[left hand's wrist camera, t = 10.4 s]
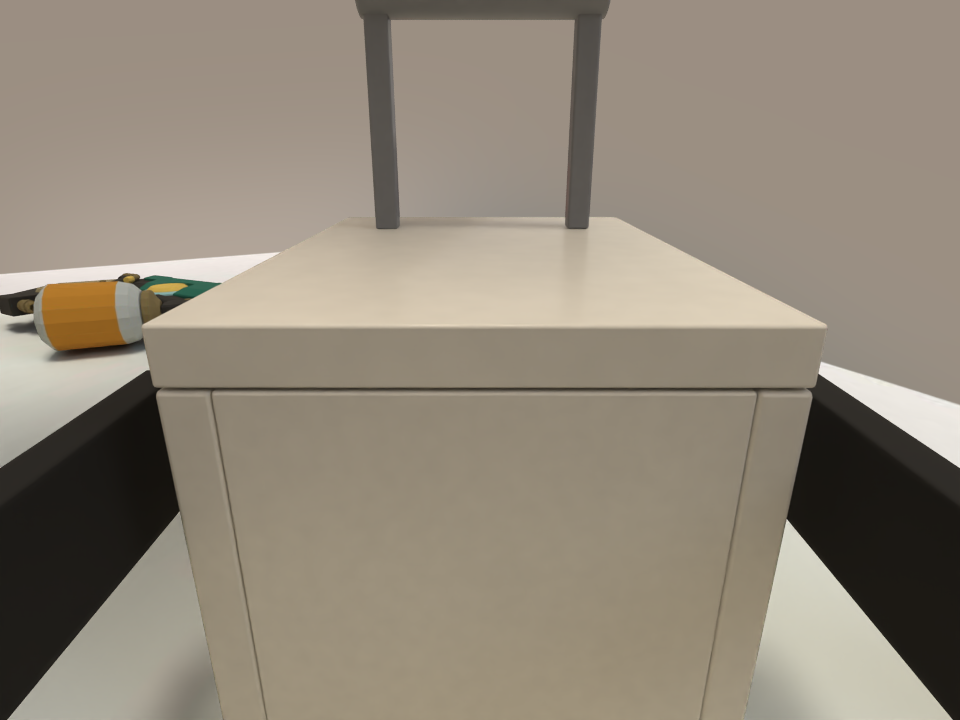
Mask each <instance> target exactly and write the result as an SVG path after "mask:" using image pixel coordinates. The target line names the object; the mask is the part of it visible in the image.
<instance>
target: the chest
mask: <svg viewBox="0 0 960 720" xmlns="http://www.w3.org/2000/svg"><path fill="white" fill-rule="evenodd" d="M156 399H157V404H158V409H159V413H160V418H161V423H162V428H163V433H164V437H165V442H166V447H167V452H168V457H169V461H170V466H171V471H172V476H173V481H174V486H175V490H176V495H177V500H178V505H179V510H180V514H181V519H182V524H183V529H184V534H185V538H186V543H187V548H188V553H189V558H190V562H191V567H192V572H193V577H194V582H195V587H196V591H197V596H198V601H199V606H200V611H201V615H202V620H203V625H204V630H205V635H206V639H207V644H208V649H209V654H210V659H211V664H212V668H213V673H214V678H215V683H216V688H217V692H218V697H219V702H220V707H221V712H222V716H223V720H744V716H745V711H746V707H747V702H748V697H749V692H750V688H751V683H752V678H753V674H754V669H755V664H756V660H757V655H758V650H759V646H760V641H761V636H762V632H763V627H764V622H765V617H766V613H767V608H768V603H769V599H770V594H771V589H772V585H773V580H774V575H775V571H776V566H777V561H778V557H779V552H780V547H781V542H782V538H783V533H784V528H785V524H786V519H787V514H788V510H789V505H790V500H791V496H792V491H793V486H794V482H795V477H796V472H797V467H798V463H799V458H800V453H801V449H802V444H803V439H804V435H805V430H806V425H807V421H808V416H809V411H810V406H811V402H812V393H811V392H810V391H809V390H808V389H806V388H162V389H160V390H159V391H158V392H157V395H156Z"/></svg>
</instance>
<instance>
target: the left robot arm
mask: <svg viewBox="0 0 960 720" xmlns="http://www.w3.org/2000/svg"><path fill="white" fill-rule="evenodd" d="M160 389H162V388H157V387H154V385H153V382H152V378H151V373H150V370H147V371H145V372H144V373H142V374H141V375H139V376H138V377H136V378H135V379H133V380H132V381H130V382H129V383H127V384H126V385H124V386H123V387H121V388H120V389H118V390H117V391H115V392H114V393H112V394H111V395H109V396H108V397H106V398H105V399H103V400H102V401H100V402H99V403H97V404H96V405H94V406H93V407H91V408H90V409H88V410H87V411H85V412H84V413H82V414H81V415H79V416H78V417H76V418H75V419H73V420H72V421H70V422H69V423H67V424H66V425H64V426H63V427H61V428H60V429H58V430H57V431H55V432H54V433H52V434H51V435H49V436H48V437H46V438H45V439H43V440H42V441H40V442H39V443H37V444H36V445H34V446H33V447H31V448H30V449H28V450H27V451H25V452H24V453H22V454H21V455H19V456H18V457H16V458H15V459H13V460H12V461H10V462H9V463H7V464H6V465H4V466H3V467H1V468H0V720H7V719H8V718H9V717H10V716H11V714H12V713H13V712H14V711H15V710H16V708H17V707H18V706H19V705H20V703H21V702H22V701H23V700H24V699H25V697H26V696H27V695H28V694H29V693H30V691H31V690H32V689H33V688H34V687H35V685H36V684H37V683H38V682H39V680H40V679H41V678H42V677H43V676H44V674H45V673H46V672H47V671H48V670H49V668H50V667H51V666H52V665H53V664H54V662H55V661H56V660H57V659H58V658H59V656H60V655H61V654H62V653H63V651H64V650H65V649H66V648H67V647H68V645H69V644H70V643H71V642H72V641H73V639H74V638H75V637H76V636H77V635H78V633H79V632H80V631H81V630H82V629H83V627H84V626H85V625H86V624H87V622H88V621H89V620H90V619H91V618H92V616H93V615H94V614H95V613H96V612H97V610H98V609H99V608H100V607H101V606H102V604H103V603H104V602H105V601H106V599H107V598H108V597H109V596H110V595H111V593H112V592H113V591H114V590H115V589H116V587H117V586H118V585H119V584H120V583H121V581H122V580H123V579H124V578H125V577H126V575H127V574H128V573H129V572H130V570H131V569H132V568H133V567H134V566H135V564H136V563H137V562H138V561H139V560H140V558H141V557H142V556H143V555H144V554H145V552H146V551H147V550H148V549H149V548H150V546H151V545H152V544H153V543H154V541H155V540H156V539H157V538H158V537H159V535H160V534H161V533H162V532H163V531H164V529H165V528H166V527H167V526H168V525H169V523H170V522H171V521H172V520H173V519H174V517H175V516H176V515H177V514H178V512H179V511H180V510H179V505H178V500H177V495H176V490H175V486H174V481H173V476H172V471H171V466H170V461H169V457H168V452H167V447H166V442H165V437H164V433H163V428H162V423H161V418H160V413H159V409H158V404H157V399H156V395H157V392H158V391H159V390H160ZM806 389H808V390H809V391H810V392H811V393H812V402H811V406H810V411H809V416H808V421H807V425H806V430H805V435H804V439H803V444H802V449H801V453H800V458H799V463H798V467H797V472H796V477H795V482H794V486H793V491H792V496H791V500H790V505H789V510H788V514H787V520H788V521H789V522H790V523H791V525H792V526H793V527H794V528H795V529H796V531H797V532H798V533H799V534H800V535H801V537H802V538H803V539H804V540H805V541H806V543H807V544H808V545H809V546H810V547H811V549H812V550H813V551H814V552H815V554H816V555H817V556H818V557H819V558H820V560H821V561H822V562H823V563H824V564H825V566H826V567H827V568H828V569H829V570H830V572H831V573H832V574H833V575H834V577H835V578H836V579H837V580H838V581H839V583H840V584H841V585H842V586H843V587H844V589H845V590H846V591H847V592H848V593H849V595H850V596H851V597H852V598H853V599H854V601H855V602H856V603H857V604H858V606H859V607H860V608H861V609H862V610H863V612H864V613H865V614H866V615H867V616H868V618H869V619H870V620H871V621H872V622H873V624H874V625H875V626H876V627H877V628H878V630H879V631H880V632H881V633H882V635H883V636H884V637H885V638H886V639H887V641H888V642H889V643H890V644H891V645H892V647H893V648H894V649H895V650H896V651H897V653H898V654H899V655H900V656H901V657H902V659H903V660H904V661H905V662H906V664H907V665H908V666H909V667H910V668H911V670H912V671H913V672H914V673H915V674H916V676H917V677H918V678H919V679H920V680H921V682H922V683H923V684H924V685H925V687H926V688H927V689H928V690H929V691H930V693H931V694H932V695H933V696H934V697H935V699H936V700H937V701H938V702H939V703H940V705H941V706H942V707H943V708H944V709H945V711H946V712H947V713H948V714H949V716H950V717H951V718H952V719H953V720H960V468H959V467H957V466H956V465H954V464H953V463H951V462H950V461H948V460H947V459H945V458H944V457H942V456H941V455H939V454H938V453H936V452H935V451H933V450H932V449H930V448H929V447H927V446H926V445H924V444H923V443H921V442H920V441H918V440H917V439H915V438H914V437H912V436H911V435H909V434H908V433H906V432H905V431H903V430H902V429H900V428H899V427H897V426H896V425H894V424H893V423H891V422H890V421H888V420H887V419H885V418H884V417H882V416H881V415H879V414H878V413H876V412H875V411H873V410H872V409H870V408H869V407H867V406H866V405H864V404H863V403H861V402H860V401H858V400H857V399H855V398H854V397H852V396H851V395H849V394H848V393H846V392H845V391H843V390H842V389H840V388H839V387H837V386H836V385H834V384H833V383H831V382H830V381H828V380H827V379H825V378H824V377H822V376H821V375H819V374H818V377H817V382H816V385H815V387H813V388H806Z"/></svg>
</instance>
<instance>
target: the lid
mask: <svg viewBox="0 0 960 720" xmlns="http://www.w3.org/2000/svg"><path fill="white" fill-rule="evenodd" d="M355 2H356V6H357V10H358V13H359V15H360V17H361V18H362V19H364V34H365V51H366V67H367V84H368V101H369V117H370V134H371V150H372V167H373V183H374V200H375V217H349V218H347V219H345V220H343V221H341V222H339V223H337V224H335V225H333V226H331V227H329V228H327V229H326V230H324V231H322V232H320V233H318V234H316V235H314V236H312V237H310V238H308V239H306V240H304V241H302V242H301V243H299V244H297V245H295V246H293V247H291V248H289V249H287V250H285V251H283V252H281V253H279V254H277V255H275V256H274V257H272V258H270V259H268V260H266V261H264V262H262V263H260V264H258V265H256V266H254V267H252V268H250V269H249V270H247V271H245V272H243V273H241V274H239V275H237V276H235V277H233V278H231V279H229V280H227V281H225V282H224V283H222V284H220V285H218V286H216V287H214V288H212V289H210V290H208V291H206V292H204V293H202V294H200V295H199V296H197V297H195V298H193V299H191V300H189V301H187V302H185V303H183V304H181V305H179V306H177V307H175V308H174V309H172V310H170V311H168V312H166V313H164V314H162V315H160V316H158V317H156V318H154V319H152V320H150V321H149V322H147V323H145V324H143V325H142V328H141V330H142V334H143V339H144V344H145V349H146V354H147V358H148V363H149V368H150V373H151V378H152V382H153V385H154V387H157V388H813V387H815V385H816V382H817V377H818V372H819V368H820V363H821V358H822V354H823V349H824V344H825V339H826V335H827V330H828V328H827V325H826V324H824V323H822V322H820V321H818V320H816V319H814V318H812V317H810V316H808V315H806V314H804V313H802V312H800V311H798V310H796V309H794V308H792V307H790V306H788V305H786V304H785V303H783V302H781V301H779V300H777V299H775V298H773V297H771V296H769V295H767V294H765V293H763V292H761V291H759V290H757V289H755V288H753V287H751V286H749V285H747V284H745V283H743V282H741V281H739V280H737V279H735V278H734V277H731V276H730V275H728V274H726V273H724V272H722V271H720V270H718V269H716V268H714V267H712V266H710V265H708V264H706V263H704V262H702V261H700V260H698V259H696V258H694V257H692V256H690V255H688V254H686V253H684V252H682V251H681V250H679V249H677V248H675V247H673V246H671V245H669V244H667V243H665V242H663V241H661V240H659V239H657V238H655V237H653V236H651V235H649V234H647V233H645V232H643V231H641V230H639V229H637V228H635V227H633V226H632V225H629V224H628V223H626V222H624V221H622V220H620V219H618V218H616V217H589V213H590V197H591V181H592V165H593V149H594V133H595V117H596V101H597V85H598V70H599V54H600V38H601V22H602V19H604V18H605V16H606V14H607V11H608V8H609V4H610V0H355ZM391 20H575V29H574V50H573V70H572V90H571V110H570V131H569V151H568V171H567V192H566V212H565V217H400V213H399V192H398V171H397V148H396V128H395V105H394V84H393V62H392V40H391Z"/></svg>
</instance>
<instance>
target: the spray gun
mask: <svg viewBox="0 0 960 720" xmlns="http://www.w3.org/2000/svg"><path fill="white" fill-rule="evenodd" d="M220 284H222V283H212V282H203V281H194V280H185V279H177V278H172V277H165V276H156V275H155V276H150V277H146V278H144V279H140V276H139V275H138V274H129V273H125V274H123V275H122V276H120V277H119V278H118V279H114V280H99V281H85V282H70V283H58V284H48V285H45V286H43V287H39V288H35V289H31V290H26V291H22V292H18V293H14V294H7V295H0V311H1V313H2V314H6V315H10V316H20V315H26V314H33V313H34V323H35V327H36V330H37V333H38V335H39V336H40V338H41V340H42V341H43V342H45V343H46V344H47V345H49V346H50V347H51V348H53V349H54V350H57V351H60V350H71V349H81V348H91V347H101V346H112V345H122V344H130V343H133V342H136V341H139V340H141V339H142V338H143V334H142V330H141V328H142V325H143V324H145V323H147V322H149V321H150V320H152V319H154V318H156V317H158V316H160V315H162V314H164V313H166V312H168V311H170V310H172V309H174V308H175V307H177V306H179V305H181V304H183V303H185V302H187V301H189V300H191V299H193V298H195V297H197V296H199V295H200V294H202V293H204V292H206V291H208V290H210V289H212V288H214V287H216V286H218V285H220Z"/></svg>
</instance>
